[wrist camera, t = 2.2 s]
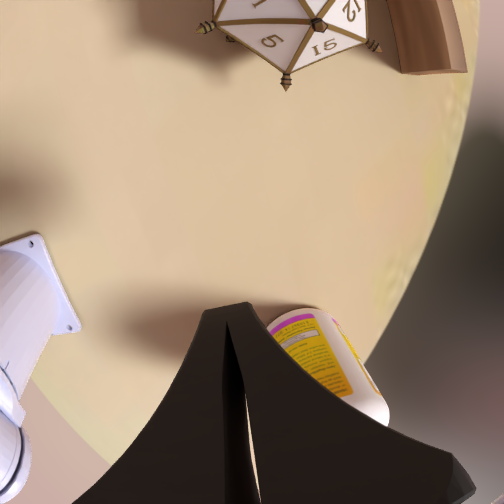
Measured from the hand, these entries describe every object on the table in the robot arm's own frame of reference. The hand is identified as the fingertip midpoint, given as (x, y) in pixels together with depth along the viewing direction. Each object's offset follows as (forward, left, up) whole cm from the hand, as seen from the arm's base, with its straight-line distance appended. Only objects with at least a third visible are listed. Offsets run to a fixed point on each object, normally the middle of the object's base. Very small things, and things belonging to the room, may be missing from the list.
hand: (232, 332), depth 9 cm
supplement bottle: (+4, -11, -11) cm, 16 cm away
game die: (+5, +12, -11) cm, 17 cm away
